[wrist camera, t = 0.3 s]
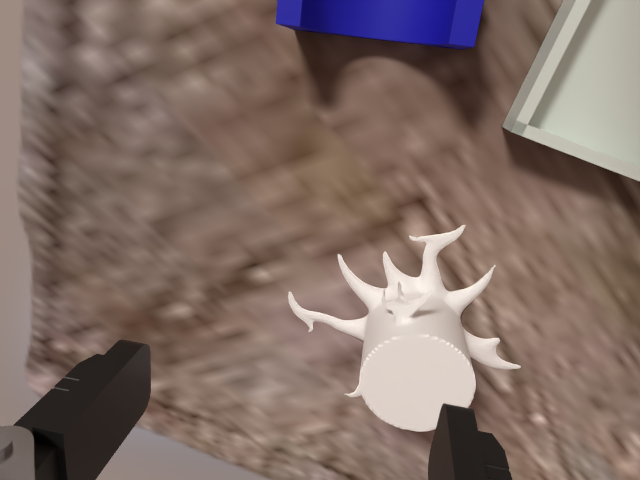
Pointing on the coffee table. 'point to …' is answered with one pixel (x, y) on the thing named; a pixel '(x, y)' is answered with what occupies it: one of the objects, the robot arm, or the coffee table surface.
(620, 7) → the parts tray
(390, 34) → the blue curved bracket
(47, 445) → the robot arm
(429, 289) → the tree stump
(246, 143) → the coffee table surface
